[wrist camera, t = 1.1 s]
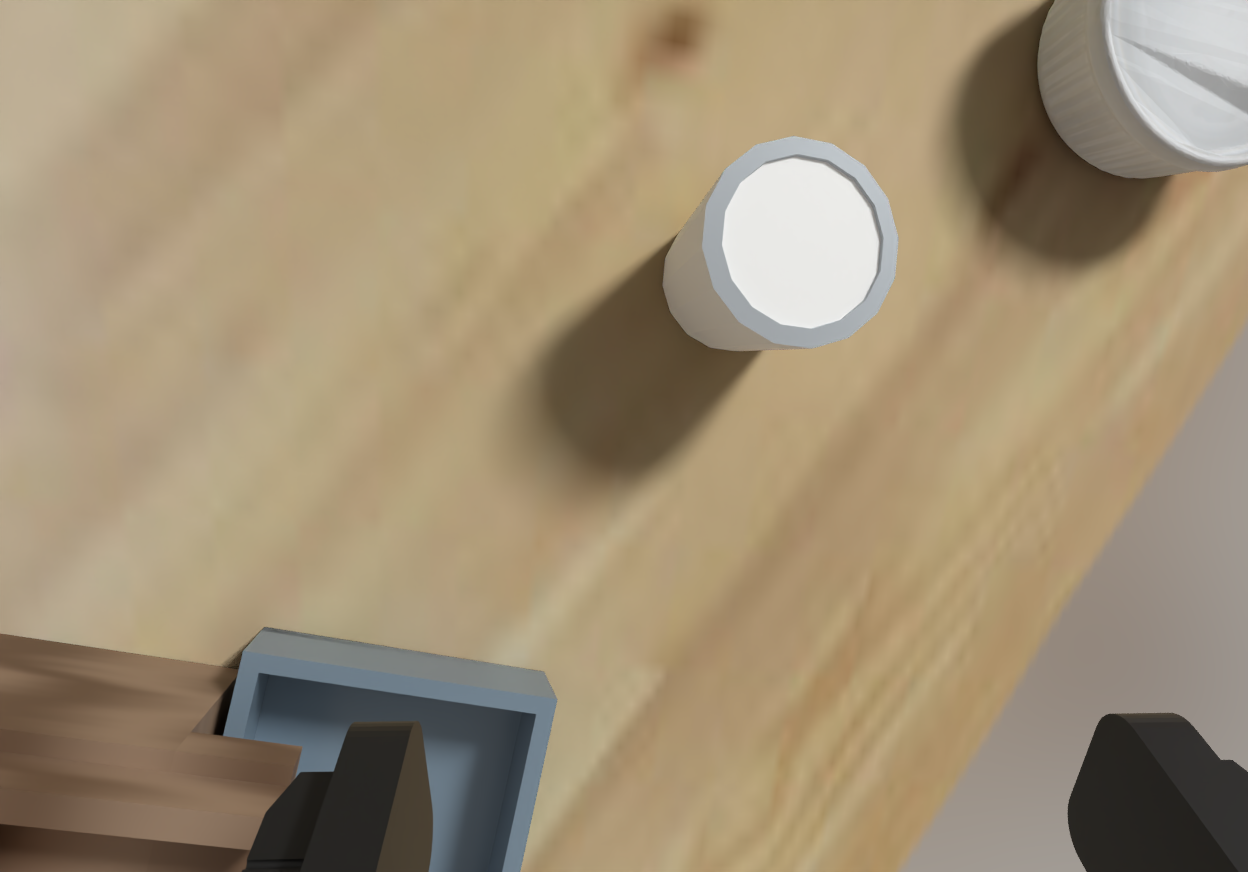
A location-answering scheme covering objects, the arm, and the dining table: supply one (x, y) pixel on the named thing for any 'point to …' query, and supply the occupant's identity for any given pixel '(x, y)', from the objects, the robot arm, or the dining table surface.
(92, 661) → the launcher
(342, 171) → the dining table surface
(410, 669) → the blue square tray
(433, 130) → the dining table surface
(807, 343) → the white cup
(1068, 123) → the ramekin
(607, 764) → the dining table surface
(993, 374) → the dining table surface
